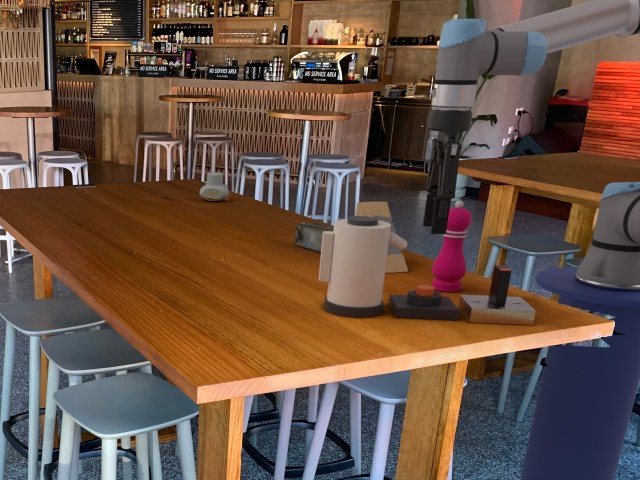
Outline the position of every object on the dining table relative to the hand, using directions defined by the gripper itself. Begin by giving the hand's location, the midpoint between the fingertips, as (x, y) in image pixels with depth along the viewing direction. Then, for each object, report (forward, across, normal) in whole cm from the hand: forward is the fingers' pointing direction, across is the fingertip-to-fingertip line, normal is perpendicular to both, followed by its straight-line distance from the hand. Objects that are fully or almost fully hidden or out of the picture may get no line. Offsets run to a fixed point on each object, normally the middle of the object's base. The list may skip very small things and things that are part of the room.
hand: (433, 229), depth 158 cm
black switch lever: (+14, +1, +14) cm, 20 cm away
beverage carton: (+17, -57, -15) cm, 62 cm away
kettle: (+17, 0, -14) cm, 22 cm away
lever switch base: (+17, +1, +14) cm, 22 cm away
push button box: (+17, 0, 0) cm, 17 cm away
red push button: (+14, 0, 0) cm, 14 cm away
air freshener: (+17, -139, -50) cm, 149 cm away
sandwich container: (+17, -41, -3) cm, 45 cm away
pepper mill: (+17, -20, +9) cm, 28 cm away
